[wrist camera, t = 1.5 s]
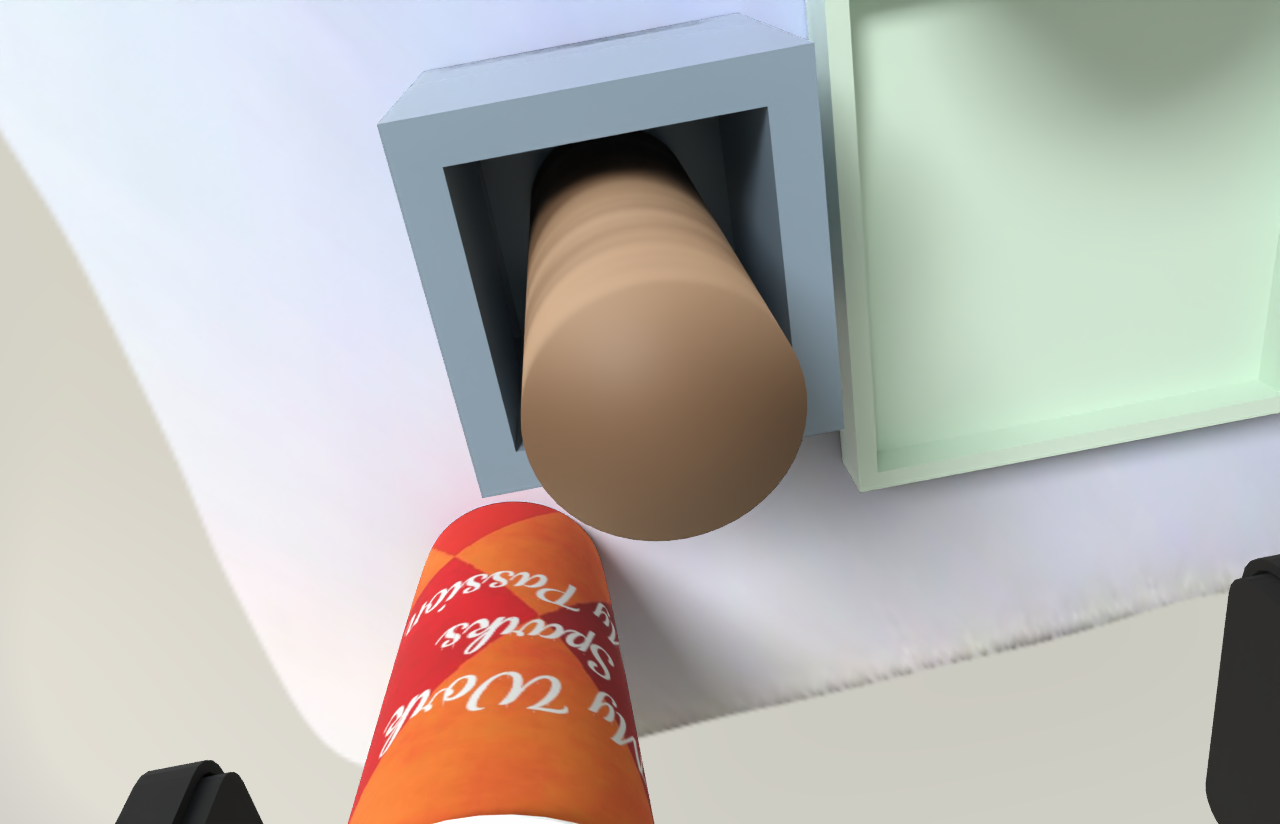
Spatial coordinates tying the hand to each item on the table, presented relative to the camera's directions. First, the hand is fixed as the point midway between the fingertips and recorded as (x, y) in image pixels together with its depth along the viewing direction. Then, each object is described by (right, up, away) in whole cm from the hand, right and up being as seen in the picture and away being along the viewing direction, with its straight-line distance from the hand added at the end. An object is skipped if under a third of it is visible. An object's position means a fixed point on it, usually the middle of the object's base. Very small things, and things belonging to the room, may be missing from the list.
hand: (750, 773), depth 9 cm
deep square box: (-2, +9, +18) cm, 21 cm away
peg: (-2, +9, +17) cm, 20 cm away
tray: (+11, +10, +19) cm, 24 cm away
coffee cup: (-5, -2, +24) cm, 24 cm away
